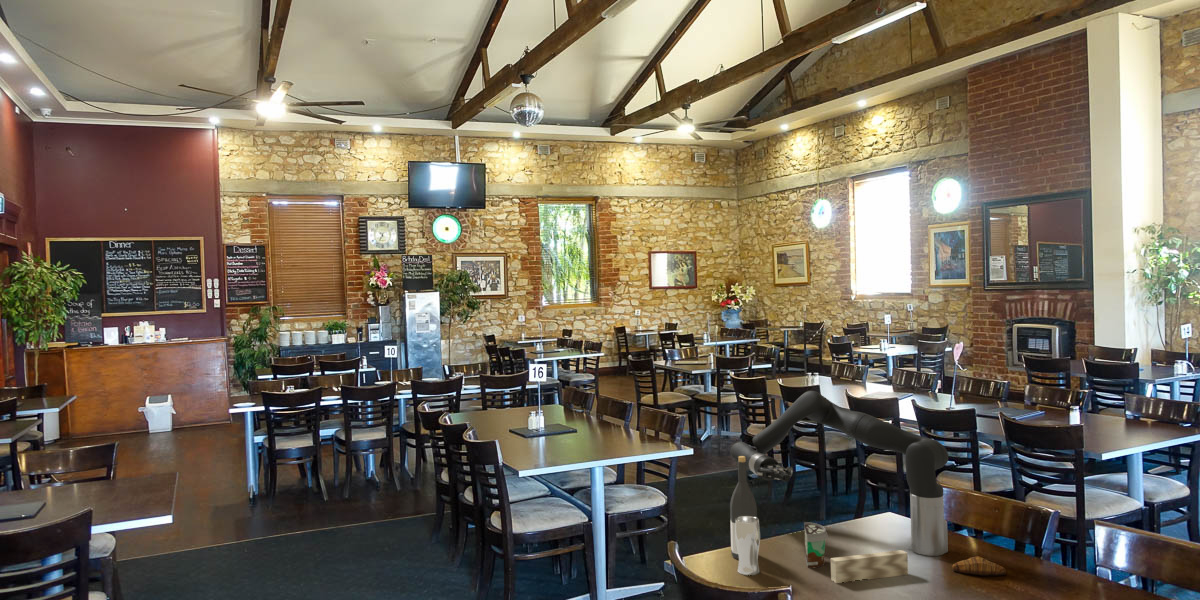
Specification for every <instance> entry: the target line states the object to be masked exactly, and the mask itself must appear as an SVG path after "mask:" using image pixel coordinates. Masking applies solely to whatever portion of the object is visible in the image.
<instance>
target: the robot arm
mask: <svg viewBox="0 0 1200 600" xmlns="http://www.w3.org/2000/svg"><path fill="white" fill-rule="evenodd" d="M805 418H807V419H809V420H811V421H812V422H814V423H818V424H822V425H824V426H827V427H831V428H834V429H837V430H838V431H840V432H842V433H843V434H845V435H847V436H848V437H850V438H852V439H854V440H855V441H857V442H860V443H862V444H864V445H867V446H869V447H872V448H874V449H875V448H876V449H880V450H883V451H884V450H885V451H891V452H895V453H896V452H897V453H900V454H902V455H905V457H904V459H905V460H904V461H905V471H906V472H905V475H906V481H907V485H908V487H909V498H910V501H909V502H910V503H909V505H910V506H909V507H910V508H909V509H910V543H911V547H910V548H911V550H912V552H914V553H916V554H918V555H923V556H932V557H935V556H937V557H939V556H942V555H944V554H946V553H948V552H949V548H948V545H949V542H948V541H949V540H948V521H947V520H946V519H945V510H944V507H945V506H944V487H943V485H942V484H941V483H939V482H937V479H936V478H937V477H936V476H937V475H936V471H937V470H939V469H942V468H943V467H944V466H945V465H947V463H948V461H949V453H948V450H947V448H946V447H945V445H943V444H942V443H941V442H940V441H938V440H936V439H934V438H930V437H926V436H923V435H919V434H916V433H912V432H910V431H907V430H905V429H903V428H901V427H898V426H896V425H894V424H891V423H889V422H887V421H885V420H883V419H879V418H878V417H875V416H873V415H870V414H868V413H865V412H861V411H857V410H856V411H855V410H848V409H846V408H844V407H841V406H839V405H837V404H835V403H834V402H832V401H830V399H828V398H826V397H825V396H824V395H822V394H821V393H819V392H817V391H816V390H807V391H805V392H804V393H802V394H801V395H800V396H799V397H798V398H797V399H795V401H794V402H793V403H791V405H790V406H789V407H788V408H787V409H785V411H784V412H783V413H781V415H780V416H778V417H777V419H775V420H774V421H773V422H772V423H771V424H769V425H767V427H765V428H764V429H762V430H761V431H760V432H758V433H757V434H755V435H753V437H752V443H753V446H754V447H755V449H756V450H755V449H754V448H752V446H750V444H748V443H747V442H743V441H738V442H735V443H733V445H732V446H731V448H730V451H729V453H730V457H731V458H732V459H733V460H734V461H735V462H736V463H737V464H738V461H739V456H745V459H746V471H750V472H752V473H753V474H755V475H756V476H757V478H758V479H763V480H765V481H772V480H777V481H779V480H780V481H782V482H784V483H787V482H790V480H791V477H792V476H793V466H787V467H786V468H785V467H784V466H783V465H782V466H781V465H780V463H779V462H778V461H777V460H776V459H775V458H773V457H772V456H770V455H767V453H768V452H769V451H771V450H772V449H774V448H775V447H776V446H778V445H780V443H782V442H783V441H784V440H785V438H787V435H788V433H789V432H790V430H791V429H792V428H793V427H794V426H795V425H796V424H797V423H799V421H800V422H801V420H803V419H805Z"/></svg>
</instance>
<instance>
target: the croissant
mask: <svg viewBox="0 0 1200 600" xmlns="http://www.w3.org/2000/svg"><path fill="white" fill-rule="evenodd" d="M951 569H952V571H953V572H955V573H956V572H957V573H959V574H965V575H973V576H980V577H981V576H992V577H993V576H995V577H996V576H1004V575H1005V576H1006V572H1007V571H1006V568H1005V567H1003V566H1001V565H1000V564H997V563H995V562H993V561H989V560H988V559H986V558H984V557H981V556H978V555H977V556H971V557H969V558H968V559H963V560H960V561H957V562H955V563H953V564H952V567H951Z"/></svg>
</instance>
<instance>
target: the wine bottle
mask: <svg viewBox="0 0 1200 600" xmlns="http://www.w3.org/2000/svg"><path fill="white" fill-rule="evenodd" d="M737 469H738V471H737V475H738V482H737V483H736V486H735V488H734V490H733V492H732V494H731V495H732V496H731V498H730V503H729V512H730V513H729V514H730V515H729V519H730V552H731V556H732V557H733V559H736V560H739V555H738V550H737V545H736V539H735V522H736V518H737V517H739V516H753V517H756V518H758V511H757V510H758V508H757V502H756V499H755V496H754V493H753V491H752V490H751V487H750V486H749V483H748V480H747V470H746V459H745V456H739V461H738V463H737Z"/></svg>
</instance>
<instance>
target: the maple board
mask: <svg viewBox="0 0 1200 600" xmlns="http://www.w3.org/2000/svg"><path fill="white" fill-rule="evenodd" d="M908 558H909V557H908V552H907V551H904V550H891V551H883V552H882V551H881V552H874V553H864V554H857V555H848V556H847V555H845V556H839V557H838V556H836V557H831V558H830V579H831V581H832V582H833V581H834V583H835V584H843V583H842V582H844V583H849V582H848V581H852V582H856V581H855V580H860V581H863V580H862V579H868V580H876V579H883V578H891V577H892V578H893V577H900V576H908V575H909V562H908Z"/></svg>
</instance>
